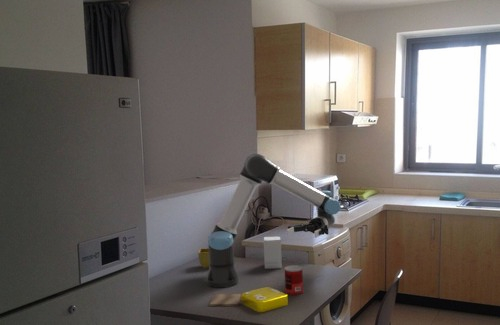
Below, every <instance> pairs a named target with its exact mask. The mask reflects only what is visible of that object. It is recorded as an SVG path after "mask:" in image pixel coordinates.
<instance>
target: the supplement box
mask: <svg viewBox="0 0 500 325" xmlns="http://www.w3.org/2000/svg"><path fill="white" fill-rule="evenodd" d="M281 243H282V242H281V237H280V236H264V237H263V256H264V257H263V260H264V263H263V264H264V269H267V270H268V269H282V266H283V265H282V244H281Z"/></svg>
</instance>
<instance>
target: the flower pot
mask: <svg viewBox="0 0 500 325" xmlns="http://www.w3.org/2000/svg"><path fill="white" fill-rule="evenodd" d="M197 253H198V261H199V264H200V266H201V267H202V268H203V269H207V268H208V269H209V267H210V266H209V247H208V248H200V249H199V250H198V252H197Z"/></svg>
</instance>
